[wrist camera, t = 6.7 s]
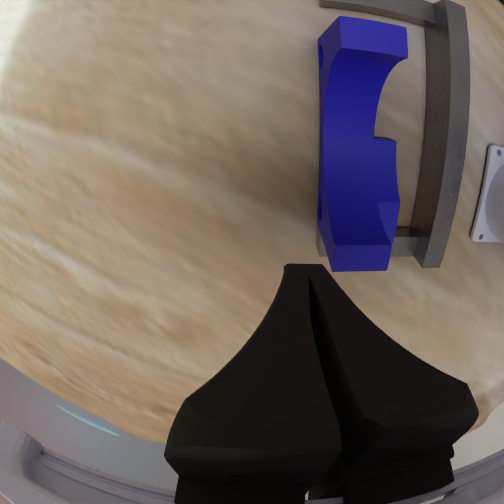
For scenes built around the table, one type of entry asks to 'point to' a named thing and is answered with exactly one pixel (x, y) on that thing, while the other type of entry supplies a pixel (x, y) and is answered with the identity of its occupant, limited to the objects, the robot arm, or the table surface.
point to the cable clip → (357, 144)
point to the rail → (432, 121)
